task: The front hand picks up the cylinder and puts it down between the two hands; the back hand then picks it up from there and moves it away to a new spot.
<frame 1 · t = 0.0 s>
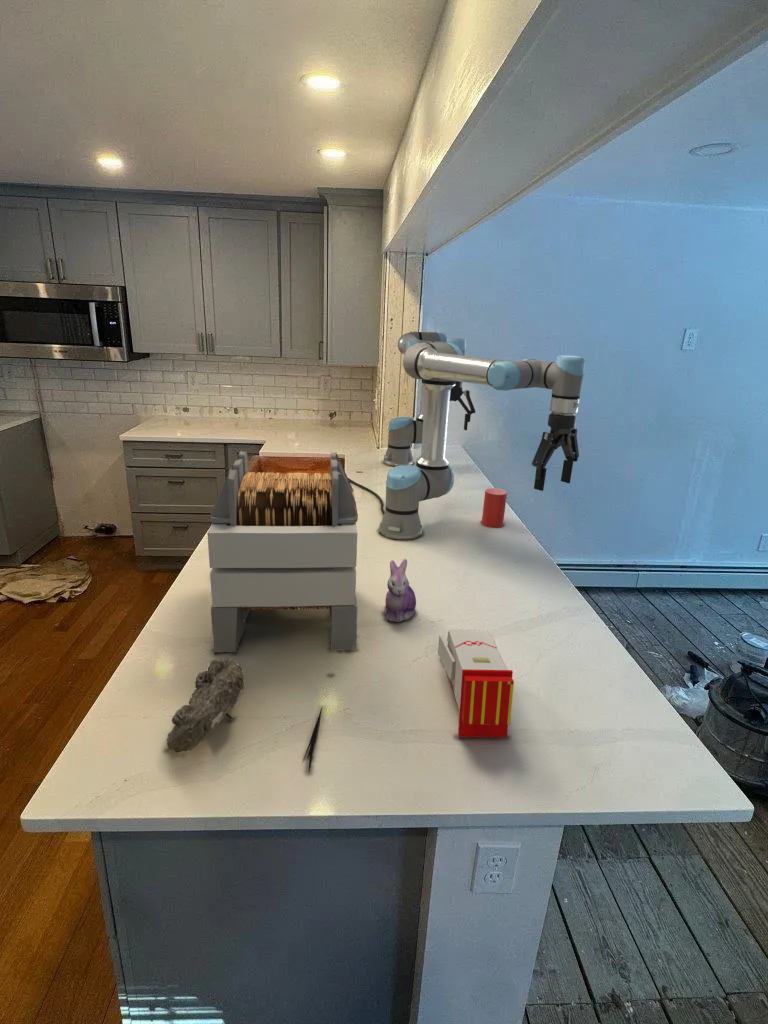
front hand: (552, 485, 166), 28 cm above the counter, tool pointing down, fingers open, 13 cm apart
back hand: (449, 429, 237), 28 cm above the counter, tool pointing down, fingers open, 13 cm apart
figurine: (399, 614, 147), on the counter
grey record crate stand: (288, 615, 144), on the counter
cylinder: (492, 523, 213), on the counter
grey rough elongated piece: (212, 717, 108), on the counter
toy: (469, 691, 119), on the counter
feather: (319, 719, 109), on the counter
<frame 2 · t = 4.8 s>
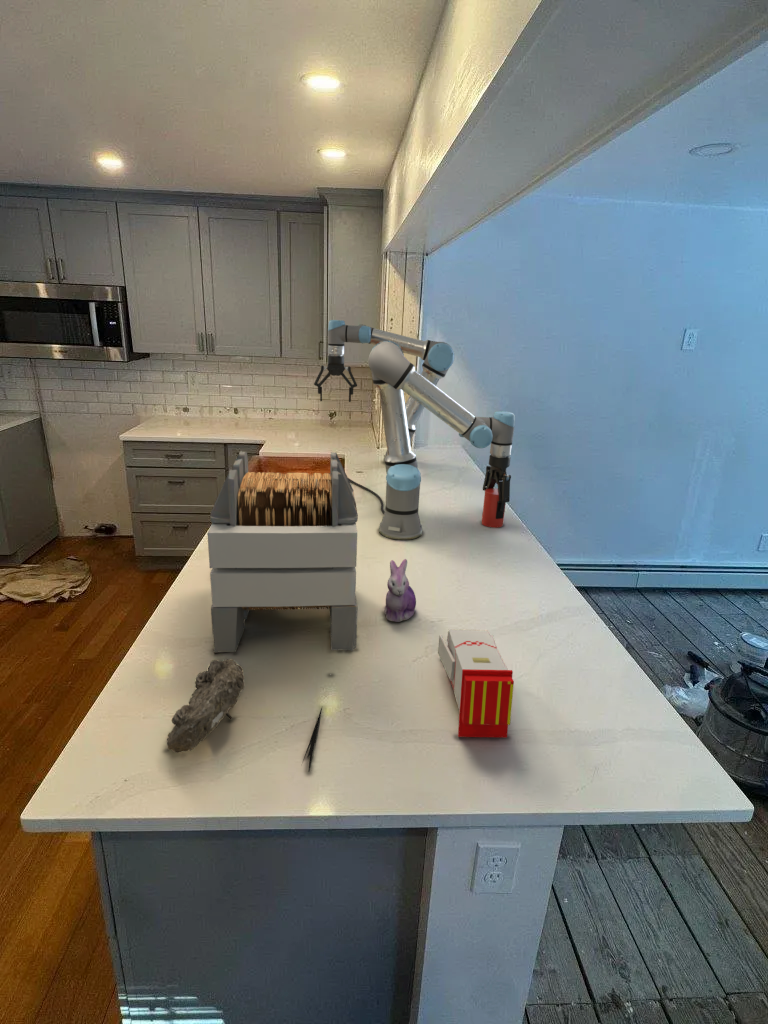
front hand: (493, 514, 212), 4 cm above the counter, tool pointing down, fingers closed on cylinder, 8 cm apart
back hand: (335, 401, 270), 32 cm above the counter, tool pointing down, fingers open, 13 cm apart
cylinder: (492, 523, 213), on the counter, touching front hand
everything else where it was.
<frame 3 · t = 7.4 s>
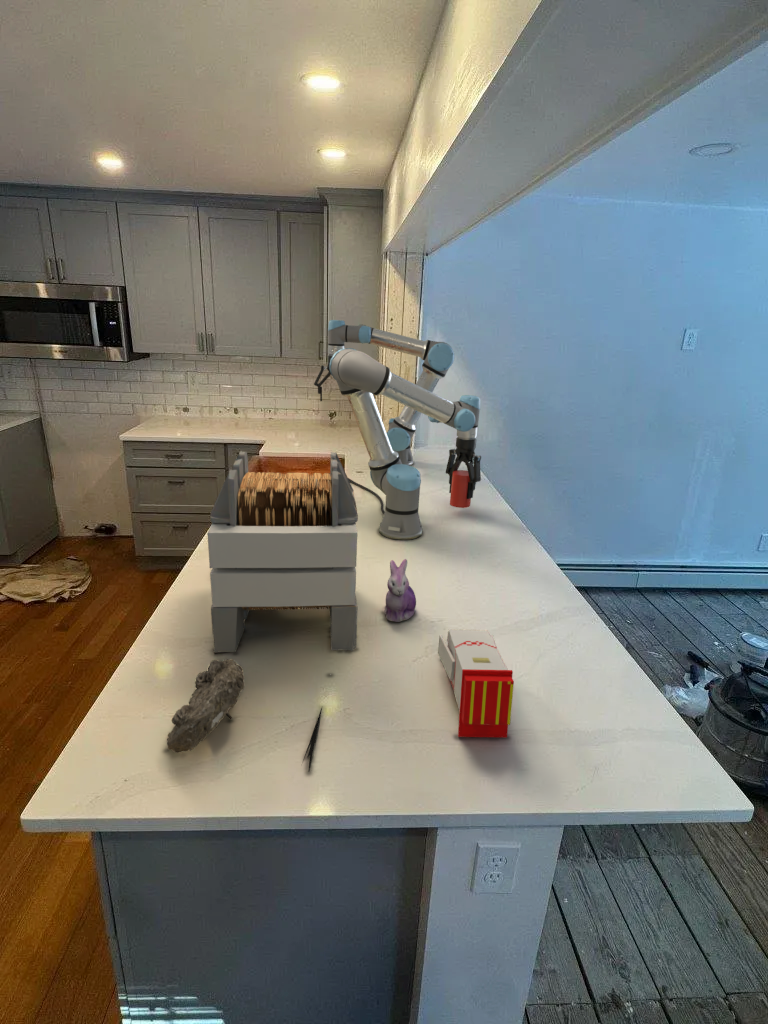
front hand: (460, 495, 220), 8 cm above the counter, tool pointing down, fingers closed on cylinder, 8 cm apart
back hand: (335, 401, 270), 32 cm above the counter, tool pointing down, fingers open, 13 cm apart
cylinder: (459, 504, 221), point 4 cm above the counter, touching front hand
everything else where it was.
when the front hand's fingers open (5 cm above the counter, at t = 10.3 s): cylinder drops 1 cm, on the counter.
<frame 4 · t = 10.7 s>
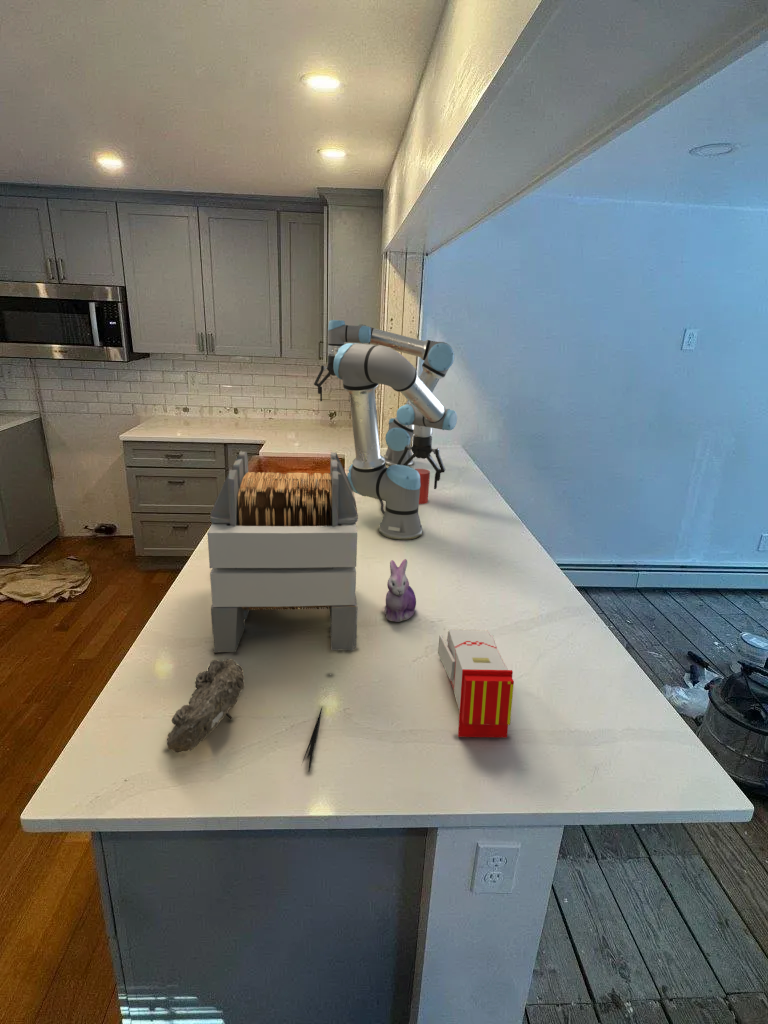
front hand: (419, 486, 233), 6 cm above the counter, tool pointing down, fingers open, 13 cm apart
back hand: (335, 401, 270), 32 cm above the counter, tool pointing down, fingers open, 13 cm apart
cylinder: (418, 501, 235), on the counter
everything else where it was.
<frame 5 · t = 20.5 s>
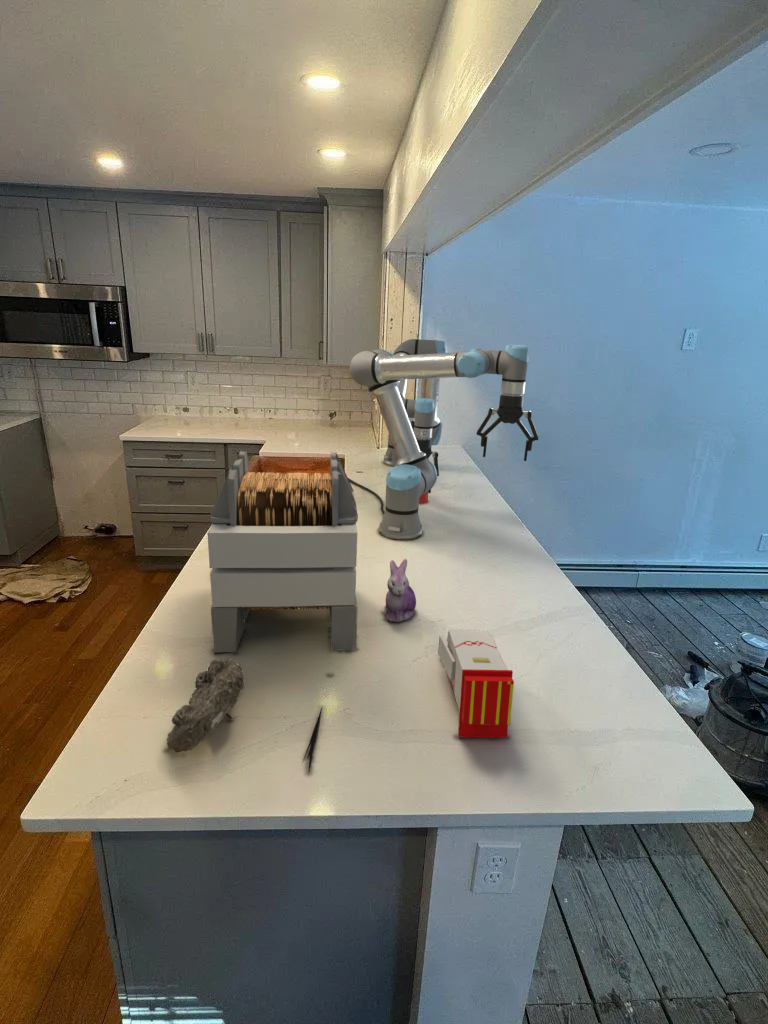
front hand: (504, 458, 191), 29 cm above the counter, tool pointing down, fingers open, 13 cm apart
back hand: (418, 492, 234), 4 cm above the counter, tool pointing down, fingers closed on cylinder, 8 cm apart
cylinder: (418, 501, 235), on the counter, touching back hand
everything else where it was.
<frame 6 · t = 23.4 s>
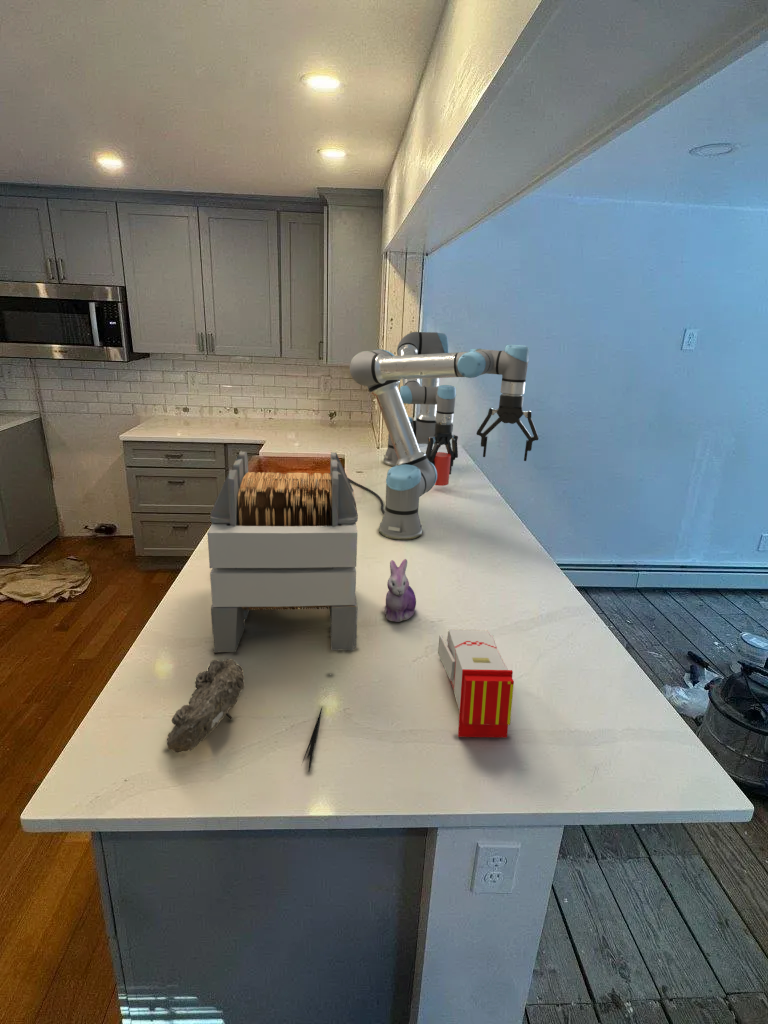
front hand: (504, 458, 191), 29 cm above the counter, tool pointing down, fingers open, 13 cm apart
back hand: (440, 474, 248), 7 cm above the counter, tool pointing down, fingers closed on cylinder, 8 cm apart
cylinder: (439, 482, 249), point 4 cm above the counter, touching back hand
everything else where it was.
when the back hand's fingers open (5 cm above the counter, at t = 26.6 s): cylinder stays where it is, on the counter.
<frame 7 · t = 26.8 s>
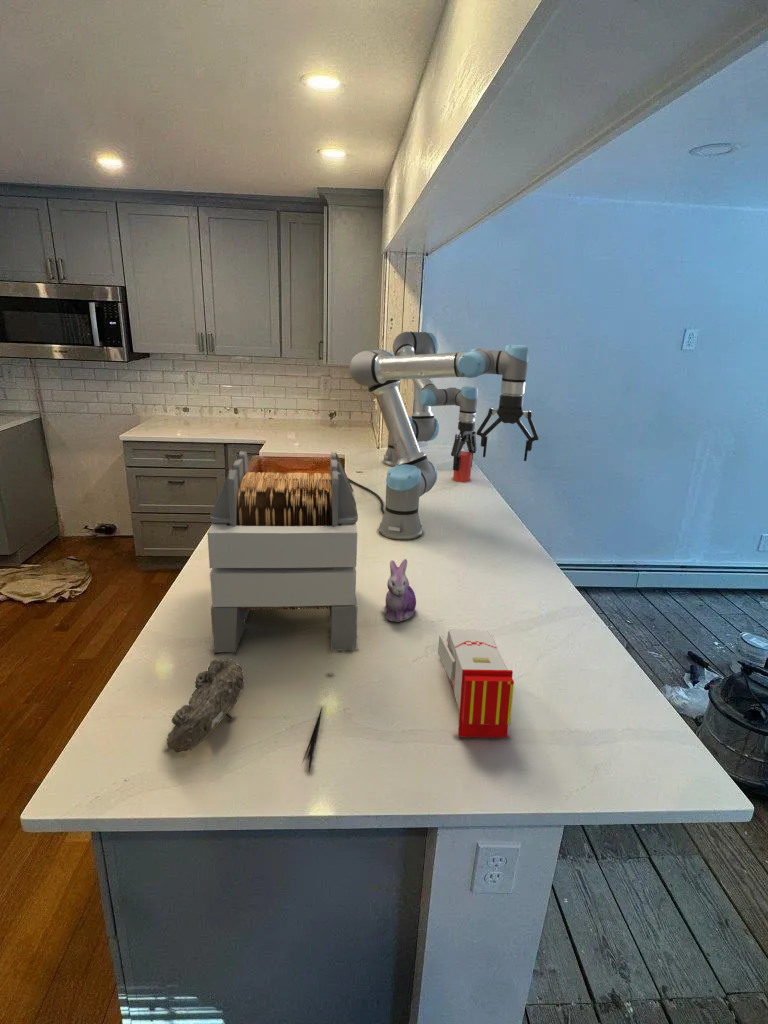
front hand: (504, 458, 191), 29 cm above the counter, tool pointing down, fingers open, 13 cm apart
back hand: (462, 468, 266), 6 cm above the counter, tool pointing down, fingers open, 10 cm apart
cylinder: (461, 479, 268), on the counter
everything else where it was.
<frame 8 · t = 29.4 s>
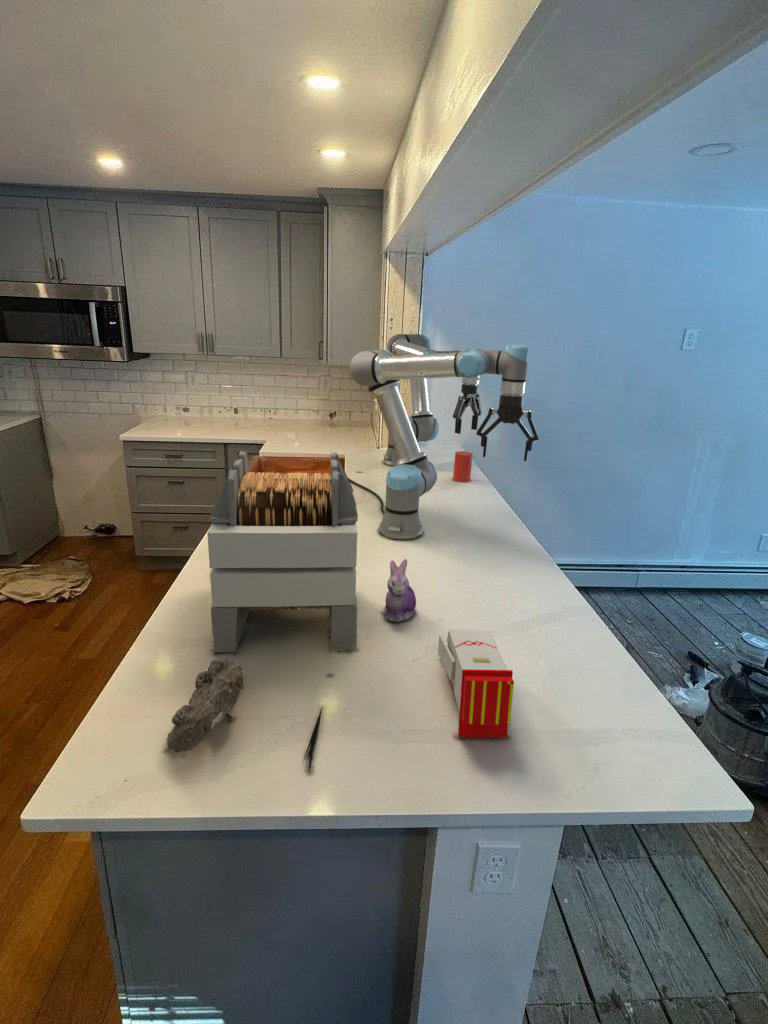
front hand: (504, 458, 191), 29 cm above the counter, tool pointing down, fingers open, 13 cm apart
back hand: (465, 431, 260), 23 cm above the counter, tool pointing down, fingers open, 13 cm apart
nothing on the counter moved.
at the end: cylinder inside the target area (0.1 cm from its centre), on the counter; cylinder tilted 0°; the two hands never held the cylinder at the same time; the front hand is holding nothing; the back hand is holding nothing; cylinder at rest at the end (0.0 cm/s) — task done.
